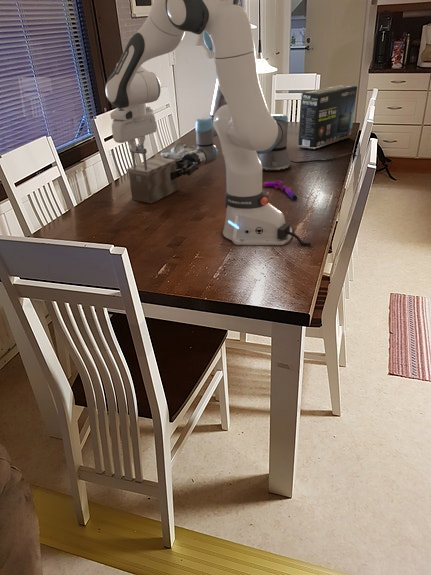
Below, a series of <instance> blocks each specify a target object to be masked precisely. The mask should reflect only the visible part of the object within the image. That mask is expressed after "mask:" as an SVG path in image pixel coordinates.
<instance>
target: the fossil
mask: <svg viewBox="0 0 431 575" xmlns="http://www.w3.org/2000/svg"><path fill="white" fill-rule="evenodd" d="M196 149H197V146H195V145H188V146H187V145H186V143H184V142H183V143H181V142H176V143H175V145H174V146H173V147H172V148H171V149H170V150H168V149H165V150H162V151H161V152H160V156H161V158H166V159H175V161H177V160H179V159H182V157H183V155H185V154H187V153H189V152H191V151H194V150H196Z"/></svg>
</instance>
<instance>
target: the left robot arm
mask: <svg viewBox="0 0 431 575" xmlns="http://www.w3.org/2000/svg"><path fill="white" fill-rule="evenodd" d="M240 1H241V0H153V1H152V5H151V7H150V10H149V13H148V15H147V18H146V19H145V21H144V23H143V24H142V26H140V28H139V29H138V30H137V32H135V33H134V34H133V35H132V36H131V37H130V39H129V40H128V42H127V43H126V46H125V48H124V50H123V52H122V54H121V56H120V59H119V61H118V62H117V63H116V66H115V68H114V70H113V72H112V73H111V74H110V75H109V76H108V78H107V80H106V83H105V86H104V90H105V91H104V92H105V97H106V99H107V101H108V102H109V103H110V104H111V105H112V106H113V107H115V109H113V111H111V112H110V114H109V116H110V119H111V120H112V122H111V133H112V139H113V141H114V142H115V143H117V144H124V143H127V142H128V144H129V145H130V147H131V148H132V151H134V152H135V151H138V148H144V149H145V145H144V144H145V141H146V136H148V135H151V134H154V133H156V132H157V130H158V127H157V121H156V117H155V114H154V109H153V108H152V107H151V106H146V104H150V103H154V102H157V100H159V97H160V95H161V92H162V87H161V81H160V79H159V77H158V76H157V74H155V73H154V72H152V71H149V70H147V69H145V68H144V67H143V66H142V65H143V64H144V63H146V62H148V61H150V60H152V59H154V58H158V57H160V56H163V55H167V54H170V53H171V52H173V51H175V50H176V49H177V48H178V46H179V45H180V44H181V42H182V40H183V39H184V37H185V34H186V32H190V33H192V34H195V35H201V34H203V31H206V32H207V33H208V34H209V36H210V38H211V41H212V46H213V52H212V53H213V60H214V66H215V67H214V68H215V72H216V78H217V80H218V86H219V89H220V91H221V93H222V94H223V96H224V98H225V100H226V102H227V105H223V106H221V107H220V108H219V109H218V110H217V111H216V113H215V115H214V119H213V124H214V128H215V130H216V132H217V134H218V135H217V136H218V139H219V143H220V147H221V151H222V156H223V159H224V165H225V177H226V178H225V183H226V190H225V194H224V205H225V209H226V210H225V218H224V219H225V220H224V226H223V229H222V235H223V237H225V239H228V240H230V241H232V243H233V244H234V245H236V246H283V245H286V244H288V243H289V242H290V240H291V239H292V237H294V239H296V241H297V243H298V244H300V245H301V246H307V247H310V246H311V242H305V241H303V240H302V239H301V237H299V236H298V234H296V233H294V232H293V228H292V227H291V224H289V223H286V219H285V215H284V213H283V212H282V211H280V210H279V209H278V208H277V207H276V206H275V205H272V204H271V203H270V202H269V194H270V192H269V191H267V192H266V191H265V190H263V171H262V169H263V168H262V164H261V161H260V160H259V158H258V157H259V154H258V153H257V152H256V151H264V150H267V149H269V148H270V147H271V146H272V145H273V144H274V143H275V141H276V139H277V136H278V125H277V123H276V121H275V119H274V118H273V117H272V115H271V114H272V113H271V112H270V110H269V108H268V104H267V101H266V99H265V96H264V93H263V89H262V87H261V82H260V78H259V72H258V64H257V63H258V62H257V55H256V48H255V47H256V46H255V39H254V34H253V30H252V25H251V22H250V18H249V15H248V12H247V10H246V9H245V8H244V7H243V6H241V5H240ZM136 139H138V144H136V143H135V142H136Z"/></svg>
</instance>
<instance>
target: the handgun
mask: <svg viewBox="0 0 431 575" xmlns="http://www.w3.org/2000/svg"><path fill="white" fill-rule="evenodd" d="M262 185H263V187H264V188H274V189H280V190H281V192H285V193H286V194H287V195H288V196H289V197H290V198H291V199H292V201H297V200H298V195H296V194H295V193H294V192H293V191H292V189H291V188H290V187H288V186H287V185H286V184H285V183H284V182H283V181H282V180H275V181H263V182H262Z"/></svg>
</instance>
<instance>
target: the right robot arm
mask: <svg viewBox="0 0 431 575" xmlns="http://www.w3.org/2000/svg"><path fill="white" fill-rule="evenodd" d="M202 39H203V43H204V46H206V48H207V49H208V50H209V51H211V52H212V53H213V46H212V41H211V38H210V36H209V34H208V33H207V32H206V31H204V30H203V32H202ZM212 94H213V95H212V100H211V106H210V112H209V117H199V118H197V119H196V120H195V139H196V148H197V149H196V150H194V151H191V152H189V153H187V154H185V155H183V157H182V159H179V160H177V161H176V171H174V172H172V173H171V180H173V179H176V178H177V179H178V178H179V177H182V176H186V175H187V176H191V175H192V174H193V173H194V172H196V171H197V170H199V168H201V167H203V166H205V165H208V164H210V163H212V162H214V161H215V160H216V159H218V157H219V150H218V148H217V146H216V145H214V138H216V137H217V136H218V134H217V132H216V130H215V128H214V124H213V119H214V115H215V113H216V111H217V110H218V109H219V108H220V107H221V106H223V105H227V102H226V100H225V98H224V96H223V94H222V93H221V91H220V89H219V86H218V80H217V77H216V79H215V84H214V90H213V93H212ZM270 114H271V115H272V117H273V118H274V119H275V121H276V123H277V125H278V136H277V139H276V141H275V143H274V144H273V145H272V146H271V147H270V148H269V149H267V150H264V151H256V152H257V155H258V158H259V160H260V161H261V164H262V168H263V169H262V172H270V173H271V172H272V173H275V172H276V173H277V172H284V171H287V170H289V169H290V168H291V163H290V162H293V161H294V160H290V158H289V154H288V150H287V147H288V130H289V129H288V128H289V126H288V125H289V118H288V116H287V115H286V114H280V113H279V114H276V113H275V114H274V113H273V114H272V113H270ZM351 153H352V154H348V155H351V156H354V157H357V156H358V155H357V154H356V153H354V152H351ZM348 155H347V156H348ZM332 158H333V159H332ZM332 158H325V159H326V160H321V159H310V160H299V161H300V162H293V163H292V164H305V163H315V162H317V163H318V162H329V161H331V162H332V161H335V160H336V159H337V158H336V156H335V158H334V157H332ZM172 160H175V159H172ZM289 165H290V166H289ZM288 166H289V167H288ZM286 167H288V168H286ZM283 168H285V169H283ZM266 169H267V170H266ZM278 169H280V170H278Z"/></svg>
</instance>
